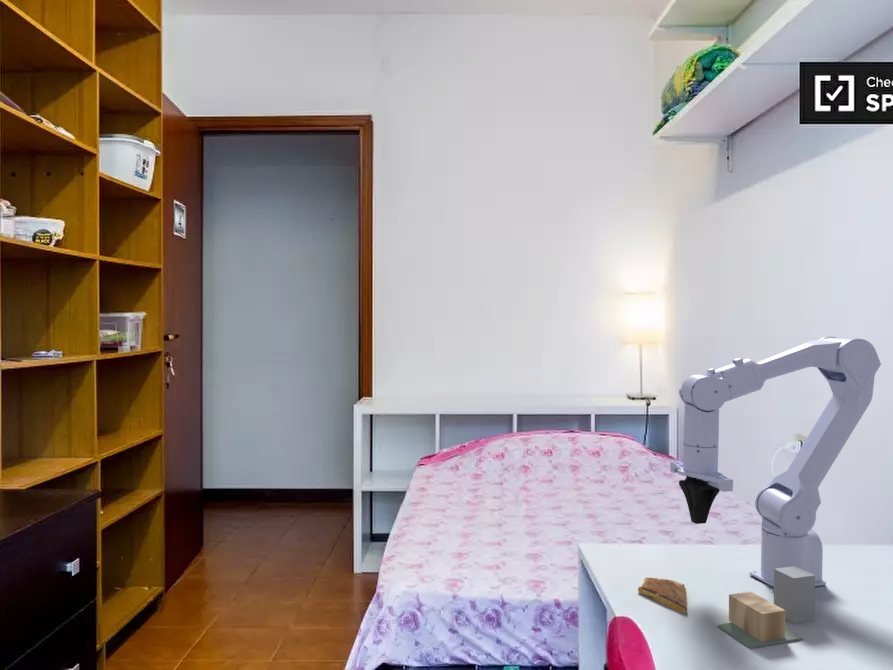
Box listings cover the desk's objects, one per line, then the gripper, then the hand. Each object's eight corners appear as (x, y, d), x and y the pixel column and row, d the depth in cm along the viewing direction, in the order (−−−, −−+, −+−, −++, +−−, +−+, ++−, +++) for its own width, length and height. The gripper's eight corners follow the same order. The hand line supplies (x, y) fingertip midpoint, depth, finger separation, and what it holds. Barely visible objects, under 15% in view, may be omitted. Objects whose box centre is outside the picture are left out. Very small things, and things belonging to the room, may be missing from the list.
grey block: (794, 609, 110) (795, 566, 110) (814, 620, 106) (815, 575, 106) (773, 613, 109) (774, 568, 109) (793, 624, 105) (793, 578, 105)
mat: (767, 618, 107) (767, 616, 107) (802, 639, 100) (802, 637, 100) (717, 626, 104) (717, 624, 104) (750, 648, 97) (750, 646, 97)
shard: (687, 618, 108) (687, 607, 108) (636, 612, 111) (636, 600, 110) (685, 591, 119) (685, 581, 118) (639, 586, 121) (639, 575, 121)
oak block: (751, 591, 106) (785, 610, 100) (750, 617, 107) (785, 637, 100) (729, 594, 105) (762, 614, 99) (728, 620, 106) (761, 641, 99)
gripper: (656, 438, 126) (654, 512, 127) (708, 454, 112) (705, 537, 113) (689, 436, 128) (688, 509, 129) (744, 452, 114) (742, 533, 115)
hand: (698, 522), depth 121 cm, fingers closed
